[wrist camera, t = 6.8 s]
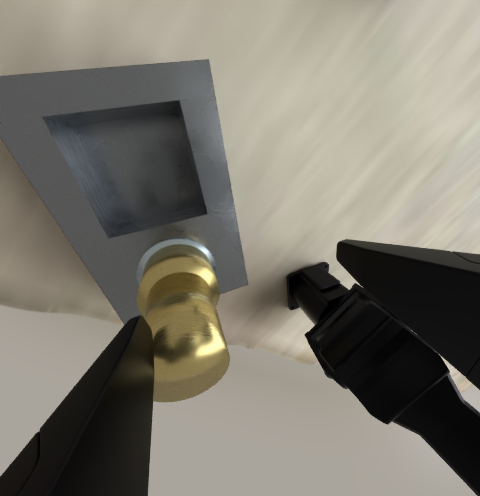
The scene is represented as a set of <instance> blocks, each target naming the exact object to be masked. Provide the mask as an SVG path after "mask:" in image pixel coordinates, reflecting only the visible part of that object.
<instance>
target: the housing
mask: <svg viewBox="0 0 480 496" xmlns="http://www.w3.org/2000/svg"><path fill="white" fill-rule="evenodd" d="M0 138H1V140H2V141H3V143H4V144H5V146H6V147H7V149H8V150H9V152H10V153H11V155H12V156H13V158H14V159H15V161H16V162H17V164H18V165H19V167H20V168H21V170H22V171H23V173H24V174H25V176H26V177H27V179H28V180H29V182H30V183H31V185H32V186H33V188H34V189H35V191H36V192H37V194H38V195H39V197H40V198H41V200H42V201H43V203H44V204H45V206H46V207H47V209H48V210H49V212H50V213H51V215H52V216H53V218H54V219H55V221H56V222H57V224H58V225H59V227H60V228H61V230H62V231H63V233H64V234H65V236H66V237H67V239H68V240H69V242H70V243H71V245H72V246H73V248H74V249H75V251H76V252H77V254H78V255H79V257H80V258H81V260H82V261H83V263H84V264H85V266H86V267H87V269H88V270H89V272H90V273H91V275H92V276H93V278H94V279H95V281H96V282H97V284H98V285H99V287H100V288H101V290H102V291H103V293H104V294H105V296H106V298H107V299H108V301H109V302H110V304H111V305H112V307H113V308H114V310H115V311H116V313H117V314H118V316H119V317H120V319H121V320H122V322H123V323H124V325H125V324H126V323H127V321H128V320H129V319H131V318H133V317H136V316H139V315H142V314H141V313H140V311H139V309H138V305H137V293H138V290H139V286H140V282H141V278H142V274H143V271H144V267H145V264H146V262H147V261H148V259H149V258H150V257H151V256H152V255H153V254H154V253H155V252H156V251H158V250H159V249H161V248H163V247H166V246H169V245H174V244H186V245H190V246H194V247H196V248H198V249H200V250H201V251H203V252H204V253H205V254H206V255H207V257H208V258H209V260H210V262H211V265H212V268H213V270H214V273H215V276H216V279H217V282H218V284H219V289H220V294H222V293H225V292H228V291H231V290H234V289H237V288H240V287H243V286H246V285H248V281H247V275H246V269H245V264H244V258H243V252H242V246H241V241H240V235H239V229H238V223H237V218H236V212H235V206H234V201H233V195H232V189H231V183H230V178H229V172H228V166H227V160H226V155H225V149H224V143H223V138H222V132H221V126H220V120H219V115H218V109H217V103H216V97H215V92H214V86H213V80H212V74H211V69H210V63H209V59H207V60H195V61H182V62H170V63H157V64H145V65H132V66H120V67H107V68H95V69H83V70H70V71H58V72H45V73H33V74H20V75H8V76H0ZM142 316H143V315H142ZM143 317H144V316H143Z"/></svg>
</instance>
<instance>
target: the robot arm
mask: <svg viewBox="0 0 480 496" xmlns="http://www.w3.org/2000/svg"><path fill="white" fill-rule="evenodd" d="M336 258H337V260H338V262H339V263H340V264H341V265H342V266H343V267H344V268H345V269H346V270H347V271H348V272H349V273H350V275H351V276H352V277H353V278H354V279H355V280H356V281H357V282H358V283H359V284H360V285H361V286H362V287H361V286H359V285H358V284H356V283H355V284H354V285H353V286H352V288H351V289H350V290H348V289H347V288H346V287H344V286H343V285H342V284H340V281H339V280H338V279H336V278H335V277H334V276H332V275H331V274H330V273H328V271H329V264H328V263H326V262H324V263H321V264H318V265H315V266H312V267H309V268H306V269H304V270H301V271H298V272H295V273H292V274H289V275H288V276H287V289H288V307H289V309H290V310H294V309H296V308H299V307H300V308H301V309H302V310H303V311H304V313H305V314H306V315H307V316H308V317H309V319H310V320H311V321H312V322H313V323H314V325H315V326H314V327H313V328H312V329H311V330H310V331H309V332H307V333H306V334H305V336H306V338H307V340H308V343H309V345H310V347H311V349H312V350H313V352H314V354H315V356H316V357H317V359H318V361H319V363H320V365H321V366H322V368H323V370H324V373H325V375H326V376H327V377H328V378H331V379H334V380H335V381H336V382H337V383H338V384H339V385H340V386H342V387H343V388H345V389H348V388H349V389H350V391H351V392H352V393H353V394H354V395H355V396H356V397H357V398H358V399H359V401H360V402H361V403H362V404H363V406H364V407H365V408H366V409H367V411H368V412H369V413H370V414H371V415H372V416H374V417H375V418H377V419H378V420H380V421H382V422H383V423H385V424H389V423H390V422H394V423H396V424H398V425H400V426H402V427H404V428H406V429H409V430H410V431H412V432H414V433H416V434H418V435H420V436H421V437H422V438H423V439H424V440H425V441H426V442H427V443H428V444H429V445H430V446H431V447H432V448H433V449H434V450H435V451H436V453H437V454H438V455H439V456H440V457H441V458H442V459H443V460H444V461H445V462H446V463H447V464H448V465H449V466H450V467H451V468H452V469H453V470H454V471H455V473H456V474H457V475H458V476H459V477H460V478H461V479H462V480H463V481H464V482H465V483H466V484H467V485H468V486H469V487H470V488H471V489H472V490H473V491H474V492H475V494H476V495H477V496H480V413H479V412H478V411H477V410H476V409H475V408H473V407H472V406H471V405H470V404H469V403H468V402H466V401H465V400H464V399H463V398H462V396H461V394H460V392H459V390H458V388H457V387H456V385H455V383H454V381H453V379H452V378H451V376H450V374H449V373H450V371H449V369H448V368H447V366H446V364H445V363H444V361H443V360H442V358H441V356H442V357H443V358H444V359H445V360H447V361H448V362H449V363H450V364H451V365H452V366H453V367H455V368H456V369H457V370H458V371H459V372H460V373H461V374H463V375H464V376H466V378H467V379H468V380H469V381H470V382H471V383H473V384H474V385H475V386H476V387H477V388H478V389H479V390H480V254H471V253H462V252H454V251H452V252H450V251H445V250H436V249H427V248H419V247H410V246H401V245H393V244H384V243H375V242H367V241H358V240H349V239H345V240H342V241H340V242H338V244H337V252H336ZM291 277H292V278H291ZM411 330H412V331H411ZM414 332H415V333H416V334H417V335H416V334H415V333H414ZM438 353H439V354H440V355H441V356H440V355H439V354H438ZM154 374H155V372H154V352H153V334H152V330H151V328H150V326H149V325H148V323H147V322H146V320H145V319H144V317H143V316H142V315H139V316H136V317H133V318H131V319H129V320H128V321H127V323H126V324H125V325H124V326H123V328H122V329H121V330H120V331H119V333H118V334H117V335H116V336H115V337H114V339H113V340H112V341H111V342H110V344H109V345H108V346H107V347H106V349H105V350H104V351H103V352H102V353H101V355H100V356H99V357H98V358H97V360H96V361H95V362H94V363H93V365H92V366H91V367H90V368H89V369H88V371H87V372H86V373H85V374H84V375H83V377H82V378H81V379H80V380H79V382H78V383H77V384H76V385H75V386H74V388H73V389H72V390H71V391H70V393H69V394H68V395H67V396H66V397H65V399H64V400H63V401H62V402H61V404H60V405H59V406H58V407H57V408H56V410H55V411H54V412H53V413H52V415H51V416H50V417H49V418H48V419H47V421H46V422H45V423H44V424H43V426H42V427H41V428H40V432H37V433H36V434H35V435H34V437H33V438H32V439H31V440H30V441H29V443H28V444H27V445H26V446H25V448H24V449H23V450H22V451H21V452H20V454H19V455H18V456H17V457H16V459H15V460H14V461H13V462H12V463H11V464H10V466H9V467H8V468H7V469H6V471H5V472H4V473H3V474H2V475H1V476H0V496H148V481H149V463H150V446H151V429H152V428H151V427H152V410H153V394H154Z"/></svg>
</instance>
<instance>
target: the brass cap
mask: <svg viewBox="0 0 480 496" xmlns="http://www.w3.org/2000/svg"><path fill="white" fill-rule="evenodd" d="M219 295H220V289H219V284H218V282H217V279H216V276H215V273H214V270H213V268H212V265H211V262H210V260H209V258H208V257H207V255H206V254H205V253H204V252H203V251H201V250H200V249H198V248H196V247H194V246H190V245H186V244H174V245H169V246H166V247H163V248H161V249H159V250H158V251H156V252H155V253H154V254H153V255H152V256H151V257H150V258H149V259H148V261H147V262H146V264H145V267H144V271H143V274H142V278H141V282H140V286H139V290H138V293H137V305H138V309H139V311H140V313H141V314H142V315H143V316H144V319H145V320H146V322H147V323H148V325H149V326H150V328H151V330H152V334H153V352H154V372H155V374H154V394H153V401H156V402H175V401H180V400H185V399H188V398H191V397H194V396H196V395H199V394H200V393H203V392H204V391H206V390H208V389H209V388H211V387H212V386H213V385H215V384H216V383H217V382H218V381H219V380H220V379H221V378H222V377H223V375H224V374H225V372H226V371H227V369H228V366H229V362H230V357H229V352H228V349H227V345H226V342H225V338H224V335H223V331H222V328H221V324H220V320H219V317H218V313H217V310H216V305H217V302H218V300H219Z"/></svg>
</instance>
